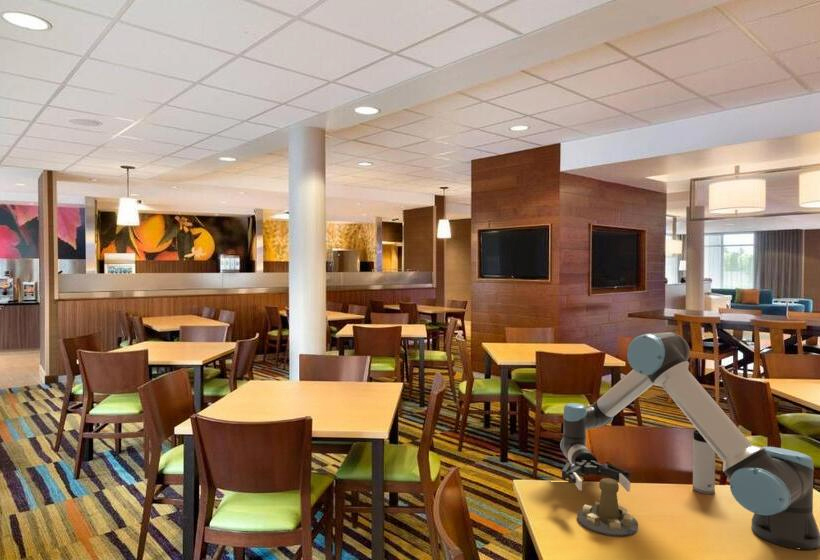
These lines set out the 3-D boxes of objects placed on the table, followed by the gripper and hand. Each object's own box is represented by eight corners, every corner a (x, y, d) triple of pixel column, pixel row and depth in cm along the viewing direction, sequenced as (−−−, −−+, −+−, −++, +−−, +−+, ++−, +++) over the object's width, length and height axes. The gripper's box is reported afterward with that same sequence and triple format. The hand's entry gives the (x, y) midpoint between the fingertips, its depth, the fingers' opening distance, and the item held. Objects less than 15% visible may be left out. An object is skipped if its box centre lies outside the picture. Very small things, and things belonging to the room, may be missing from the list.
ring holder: (642, 518, 147) (642, 508, 147) (632, 542, 134) (632, 531, 134) (585, 505, 156) (585, 495, 156) (570, 526, 142) (571, 515, 142)
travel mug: (715, 496, 163) (716, 433, 163) (692, 491, 167) (692, 430, 167) (716, 489, 168) (716, 429, 168) (693, 485, 172) (694, 425, 172)
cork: (622, 524, 141) (622, 484, 141) (599, 522, 143) (599, 483, 143) (617, 514, 147) (618, 476, 147) (595, 512, 149) (596, 474, 149)
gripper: (621, 472, 167) (648, 500, 146) (544, 470, 168) (560, 498, 147) (621, 449, 167) (649, 474, 146) (544, 447, 168) (560, 472, 147)
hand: (604, 486), depth 146 cm, fingers open, 13 cm apart
